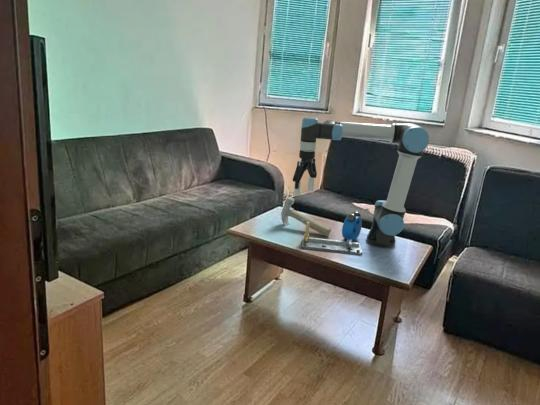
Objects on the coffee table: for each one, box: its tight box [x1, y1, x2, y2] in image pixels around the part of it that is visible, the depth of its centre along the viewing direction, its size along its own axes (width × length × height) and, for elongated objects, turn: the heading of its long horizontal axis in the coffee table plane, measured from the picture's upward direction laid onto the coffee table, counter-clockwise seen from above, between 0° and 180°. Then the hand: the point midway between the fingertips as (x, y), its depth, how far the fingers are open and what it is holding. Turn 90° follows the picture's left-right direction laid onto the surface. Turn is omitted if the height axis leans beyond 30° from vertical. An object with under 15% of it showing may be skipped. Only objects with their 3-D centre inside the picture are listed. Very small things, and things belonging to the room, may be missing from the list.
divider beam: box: [309, 236, 360, 249], centre depth 225 cm, size 28×8×3 cm, turn 85°
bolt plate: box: [301, 237, 363, 256], centre depth 225 cm, size 30×11×2 cm, turn 85°
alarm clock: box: [341, 211, 363, 242], centre depth 237 cm, size 13×6×15 cm, turn 146°
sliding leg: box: [303, 222, 310, 244], centre depth 225 cm, size 2×8×10 cm, turn 175°
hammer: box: [280, 196, 332, 237], centre depth 246 cm, size 16×5×30 cm
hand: (303, 192), depth 221 cm, fingers open, 13 cm apart
